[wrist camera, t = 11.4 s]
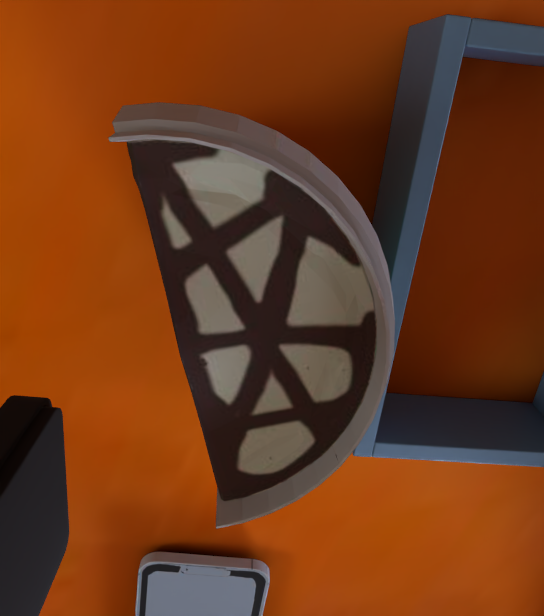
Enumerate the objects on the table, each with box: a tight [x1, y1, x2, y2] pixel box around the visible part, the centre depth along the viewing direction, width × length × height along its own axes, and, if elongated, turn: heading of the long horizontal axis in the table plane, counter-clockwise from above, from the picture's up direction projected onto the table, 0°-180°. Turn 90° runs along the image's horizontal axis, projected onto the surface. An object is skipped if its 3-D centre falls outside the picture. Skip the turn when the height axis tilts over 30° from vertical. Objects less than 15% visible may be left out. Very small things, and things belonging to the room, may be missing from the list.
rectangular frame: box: [353, 14, 544, 467], centre depth 21 cm, size 11×17×4 cm, turn 174°
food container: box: [109, 102, 395, 529], centre depth 18 cm, size 12×6×10 cm, turn 9°
